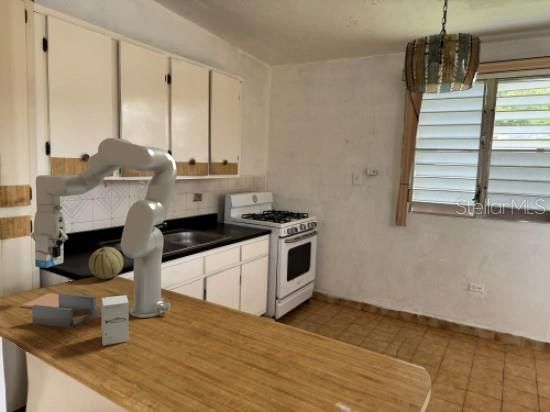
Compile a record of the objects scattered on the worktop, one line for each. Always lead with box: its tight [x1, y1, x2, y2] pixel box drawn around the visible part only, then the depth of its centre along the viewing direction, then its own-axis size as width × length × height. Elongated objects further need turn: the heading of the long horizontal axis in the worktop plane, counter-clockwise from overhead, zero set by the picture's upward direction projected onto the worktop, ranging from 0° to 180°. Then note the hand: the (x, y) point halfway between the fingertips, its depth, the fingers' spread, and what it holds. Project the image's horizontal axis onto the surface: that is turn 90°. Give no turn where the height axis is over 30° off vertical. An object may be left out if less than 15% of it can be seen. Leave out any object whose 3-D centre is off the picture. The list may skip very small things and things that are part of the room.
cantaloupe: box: [88, 246, 124, 280], centre depth 171 cm, size 15×15×15 cm
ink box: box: [34, 235, 64, 269], centre depth 138 cm, size 9×5×12 cm, turn 168°
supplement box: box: [100, 294, 130, 347], centre depth 113 cm, size 7×7×13 cm
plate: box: [21, 292, 59, 309], centre depth 140 cm, size 13×13×1 cm
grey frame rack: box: [31, 292, 101, 329], centre depth 127 cm, size 16×13×6 cm
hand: (49, 255), depth 138 cm, fingers closed on ink box, 5 cm apart
